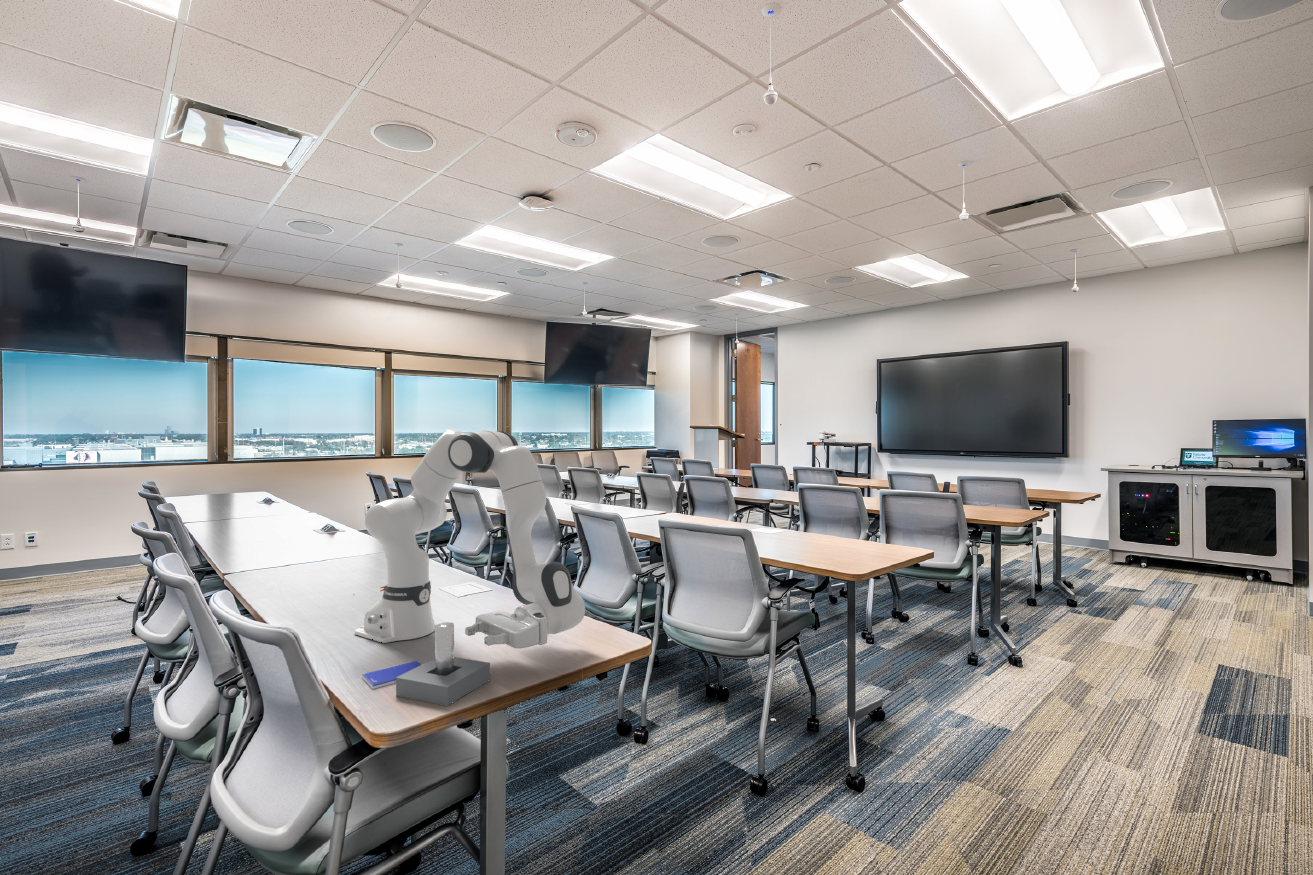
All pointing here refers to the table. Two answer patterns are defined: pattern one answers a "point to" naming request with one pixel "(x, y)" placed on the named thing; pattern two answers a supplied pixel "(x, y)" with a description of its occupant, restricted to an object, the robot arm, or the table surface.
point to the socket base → (442, 681)
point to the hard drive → (387, 674)
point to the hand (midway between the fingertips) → (475, 636)
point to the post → (444, 648)
